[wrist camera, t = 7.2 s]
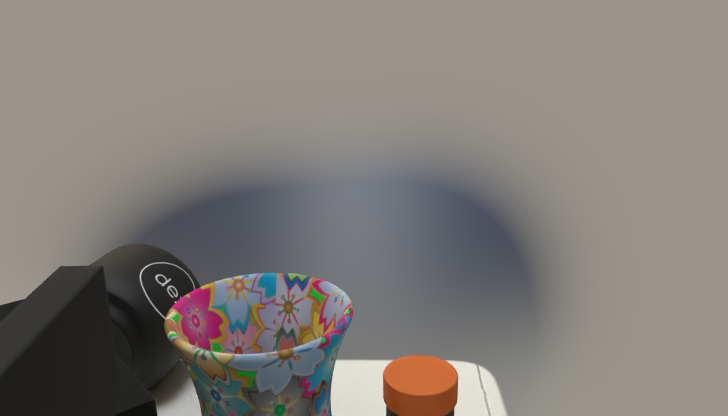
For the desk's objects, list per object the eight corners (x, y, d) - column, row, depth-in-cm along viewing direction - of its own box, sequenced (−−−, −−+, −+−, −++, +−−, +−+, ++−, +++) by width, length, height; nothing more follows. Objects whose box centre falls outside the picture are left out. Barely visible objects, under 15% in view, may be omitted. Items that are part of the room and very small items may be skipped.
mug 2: (348, 554, 32) (343, 359, 29) (159, 546, 33) (133, 354, 30) (365, 407, 44) (362, 254, 40) (224, 403, 44) (210, 253, 41)
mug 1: (186, 375, 42) (232, 321, 48) (95, 258, 40) (155, 219, 47) (61, 447, 46) (119, 389, 52) (-24, 343, 45) (46, 297, 51)
